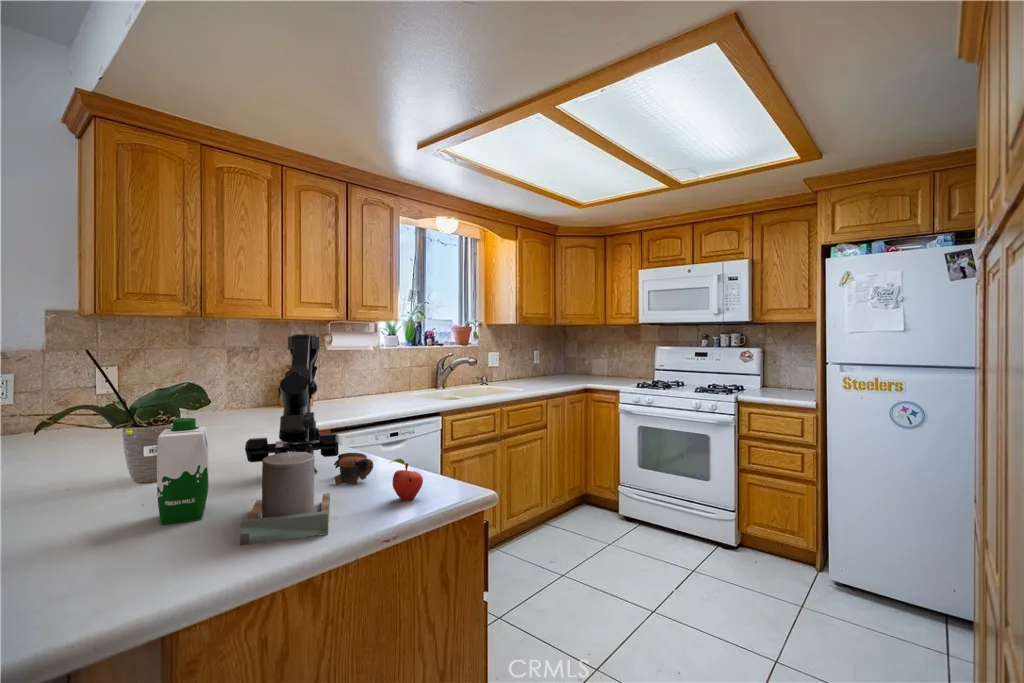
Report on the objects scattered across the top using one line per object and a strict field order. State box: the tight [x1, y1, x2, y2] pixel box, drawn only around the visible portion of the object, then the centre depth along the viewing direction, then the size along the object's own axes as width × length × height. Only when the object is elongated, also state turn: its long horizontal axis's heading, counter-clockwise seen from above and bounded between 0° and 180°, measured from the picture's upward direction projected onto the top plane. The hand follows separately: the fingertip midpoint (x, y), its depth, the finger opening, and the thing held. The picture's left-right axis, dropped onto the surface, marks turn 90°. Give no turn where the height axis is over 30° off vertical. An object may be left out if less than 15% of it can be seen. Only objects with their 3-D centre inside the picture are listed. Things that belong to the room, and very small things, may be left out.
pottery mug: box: [333, 452, 374, 485], centre depth 128 cm, size 12×10×8 cm
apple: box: [388, 458, 424, 502], centre depth 113 cm, size 8×7×10 cm
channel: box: [239, 492, 331, 546], centre depth 100 cm, size 19×15×4 cm
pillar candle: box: [261, 451, 316, 518], centre depth 98 cm, size 10×10×15 cm
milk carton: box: [155, 417, 209, 526], centre depth 102 cm, size 9×9×20 cm
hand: (291, 482), depth 103 cm, fingers closed
